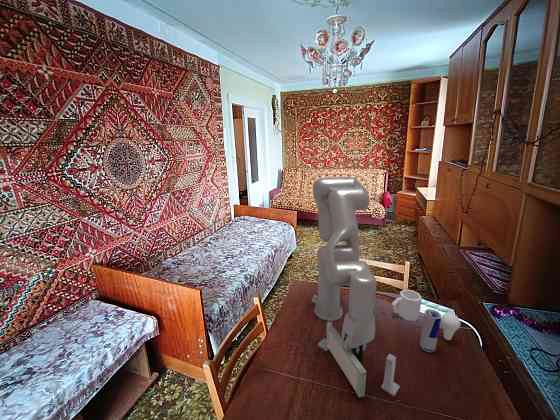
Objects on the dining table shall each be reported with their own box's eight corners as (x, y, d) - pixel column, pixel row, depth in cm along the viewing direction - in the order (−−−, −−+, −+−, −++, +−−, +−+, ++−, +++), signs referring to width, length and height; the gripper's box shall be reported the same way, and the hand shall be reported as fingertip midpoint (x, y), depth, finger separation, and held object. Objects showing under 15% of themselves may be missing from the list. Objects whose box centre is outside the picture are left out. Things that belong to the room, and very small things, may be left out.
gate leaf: (328, 348, 94) (328, 327, 92) (332, 347, 95) (333, 326, 92) (359, 397, 76) (361, 373, 74) (364, 395, 77) (366, 371, 74)
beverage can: (437, 354, 92) (443, 318, 88) (421, 352, 93) (427, 317, 89) (432, 343, 97) (438, 309, 93) (417, 342, 98) (422, 307, 94)
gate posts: (317, 345, 97) (318, 320, 94) (324, 339, 100) (324, 315, 97) (394, 396, 77) (398, 367, 74) (399, 387, 80) (403, 359, 77)
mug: (409, 307, 118) (412, 288, 115) (423, 319, 110) (426, 299, 107) (386, 311, 116) (388, 291, 113) (398, 324, 107) (400, 303, 105)
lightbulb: (454, 335, 101) (458, 311, 98) (459, 347, 95) (464, 321, 92) (436, 332, 103) (440, 308, 100) (440, 343, 97) (444, 318, 94)
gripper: (370, 298, 86) (366, 343, 91) (333, 310, 80) (331, 358, 85) (388, 311, 79) (383, 359, 84) (349, 325, 73) (345, 377, 78)
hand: (357, 359), depth 84 cm, fingers closed
